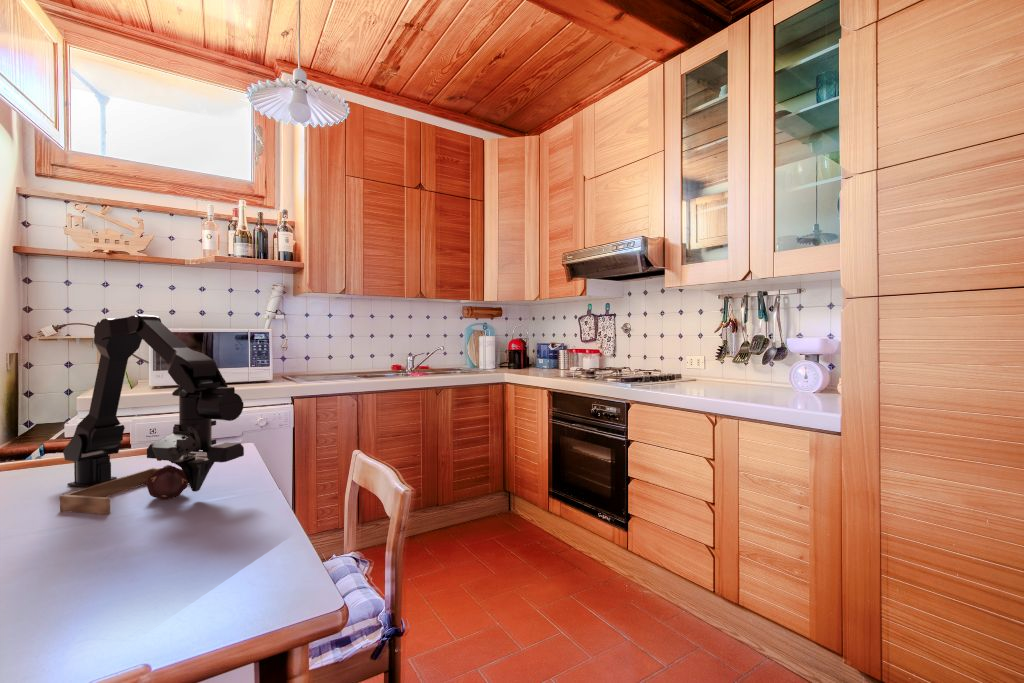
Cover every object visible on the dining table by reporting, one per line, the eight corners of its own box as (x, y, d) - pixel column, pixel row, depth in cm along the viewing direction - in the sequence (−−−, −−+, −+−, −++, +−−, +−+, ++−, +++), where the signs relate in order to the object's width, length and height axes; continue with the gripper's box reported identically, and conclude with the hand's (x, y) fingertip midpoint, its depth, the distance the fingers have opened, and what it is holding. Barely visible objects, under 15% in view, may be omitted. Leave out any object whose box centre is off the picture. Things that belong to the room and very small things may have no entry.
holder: (60, 510, 95) (59, 495, 95) (152, 480, 115) (152, 467, 115) (106, 514, 93) (106, 499, 93) (192, 482, 114) (192, 469, 114)
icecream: (196, 472, 100) (188, 463, 112) (153, 469, 96) (150, 460, 107) (186, 506, 99) (179, 494, 110) (142, 505, 94) (140, 492, 106)
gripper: (121, 422, 95) (121, 501, 95) (204, 426, 92) (204, 507, 92) (169, 413, 106) (170, 483, 106) (245, 416, 103) (245, 489, 103)
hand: (195, 490), depth 102 cm, fingers closed
